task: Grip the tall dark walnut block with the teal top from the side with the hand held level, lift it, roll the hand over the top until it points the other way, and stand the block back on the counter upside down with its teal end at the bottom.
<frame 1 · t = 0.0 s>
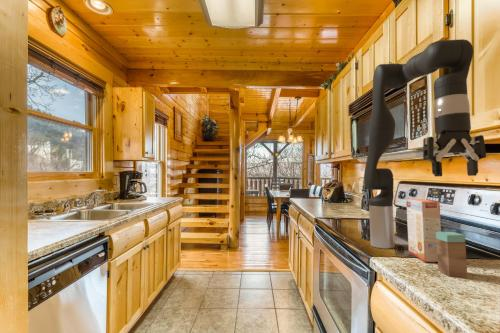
hand: (455, 176, 69), 29 cm above the countertop, tool pointing down, fingers open, 8 cm apart
cracker box: (424, 257, 95), on the countertop
walnut block: (452, 273, 79), on the countertop
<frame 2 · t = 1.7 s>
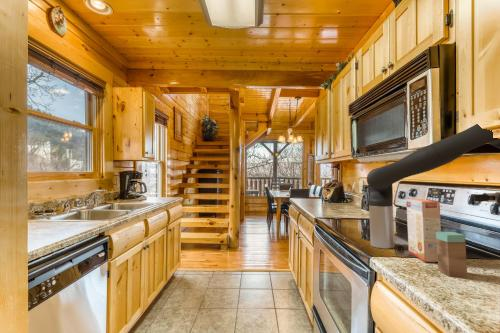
hand: (485, 198, 79), 22 cm above the countertop, tool horizontal, fingers open, 8 cm apart
nothing on the countertop moved.
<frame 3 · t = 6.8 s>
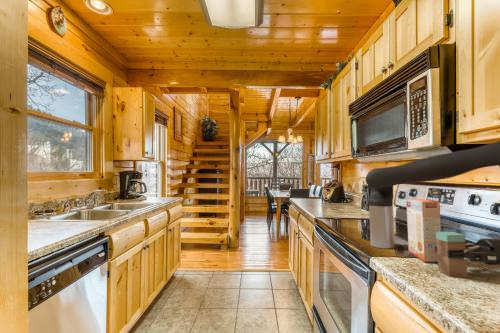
hand: (442, 251, 79), 7 cm above the countertop, tool horizontal, fingers closed on walnut block, 5 cm apart
walnut block: (452, 273, 79), on the countertop, touching gripper
everything else where it was.
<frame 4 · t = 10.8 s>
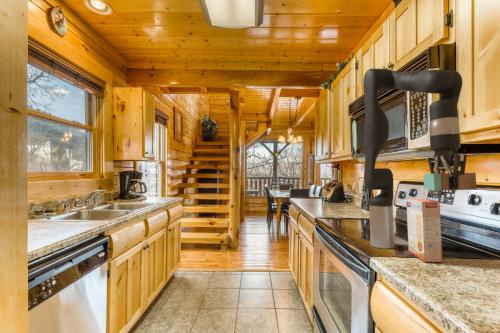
hand: (447, 189, 80), 25 cm above the countertop, tool pointing down, fingers closed on walnut block, 5 cm apart
walnut block: (469, 180, 80), point 28 cm above the countertop, tilted 90°, touching gripper
everything else where it was.
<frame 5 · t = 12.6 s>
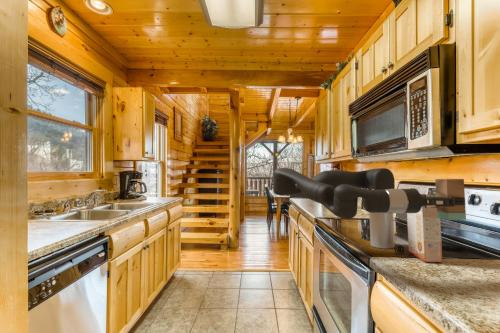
hand: (457, 200, 80), 22 cm above the countertop, tool horizontal, fingers closed on walnut block, 5 cm apart
walnut block: (449, 179, 80), point 28 cm above the countertop, tilted 180°, touching gripper
everything else where it was.
when the fingers open (7 cm above the countertop, at t = 16.0 s): walnut block drops 1 cm, point 12 cm above the countertop.
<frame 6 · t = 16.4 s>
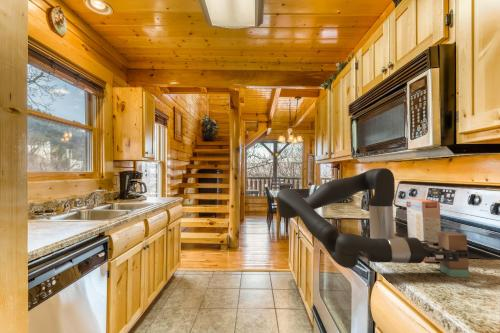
hand: (457, 250, 79), 7 cm above the countertop, tool horizontal, fingers open, 8 cm apart
walnut block: (451, 233, 79), point 12 cm above the countertop, tilted 180°
everything else where it was.
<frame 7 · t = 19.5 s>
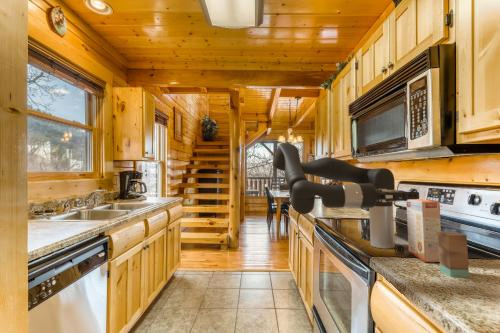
hand: (410, 194, 81), 24 cm above the countertop, tool horizontal, fingers open, 8 cm apart
nothing on the countertop moved.
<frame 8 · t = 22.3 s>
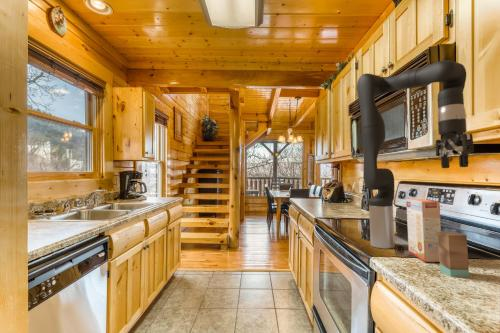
hand: (454, 167, 88), 32 cm above the countertop, tool pointing down, fingers open, 8 cm apart
nothing on the countertop moved.
at the end: walnut block tilted 180°; walnut block inside the target area (0.6 cm from its centre), point 12.0 cm above the countertop; the gripper is holding nothing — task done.
